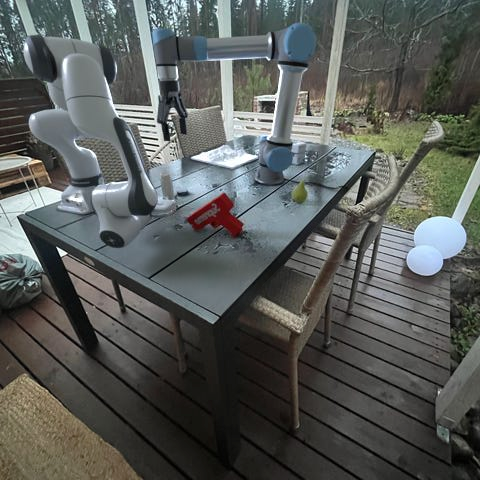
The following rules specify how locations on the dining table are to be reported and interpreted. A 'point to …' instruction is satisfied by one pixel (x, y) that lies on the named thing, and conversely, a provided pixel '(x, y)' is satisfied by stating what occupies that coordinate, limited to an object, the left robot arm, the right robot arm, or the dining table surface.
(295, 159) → the ink box
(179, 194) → the lid
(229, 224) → the toy gun
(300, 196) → the fruit
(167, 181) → the bottle
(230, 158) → the relief map
